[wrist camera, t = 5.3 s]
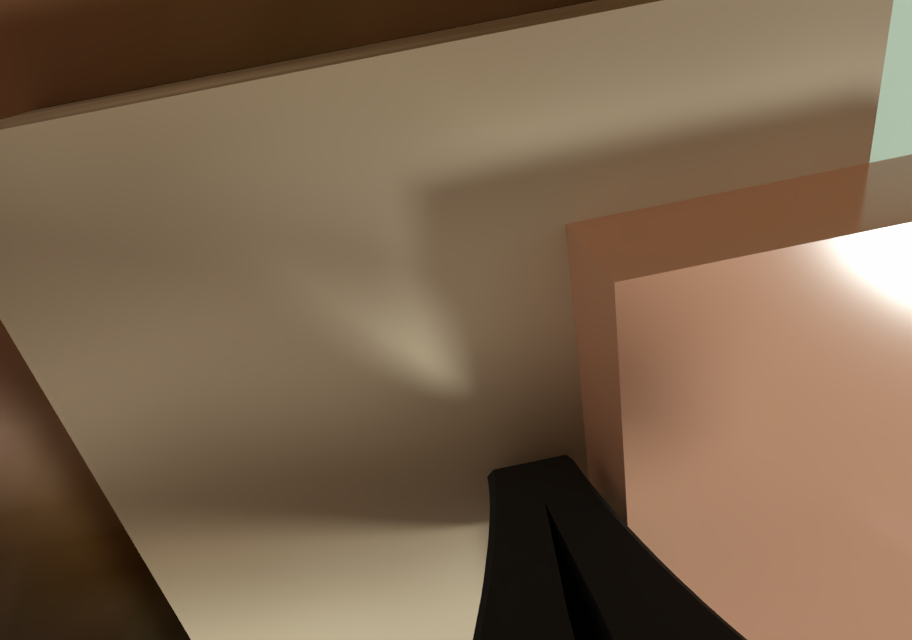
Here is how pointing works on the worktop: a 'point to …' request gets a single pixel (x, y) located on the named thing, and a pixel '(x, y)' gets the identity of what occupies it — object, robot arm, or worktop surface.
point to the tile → (760, 395)
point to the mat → (895, 89)
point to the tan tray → (378, 280)
